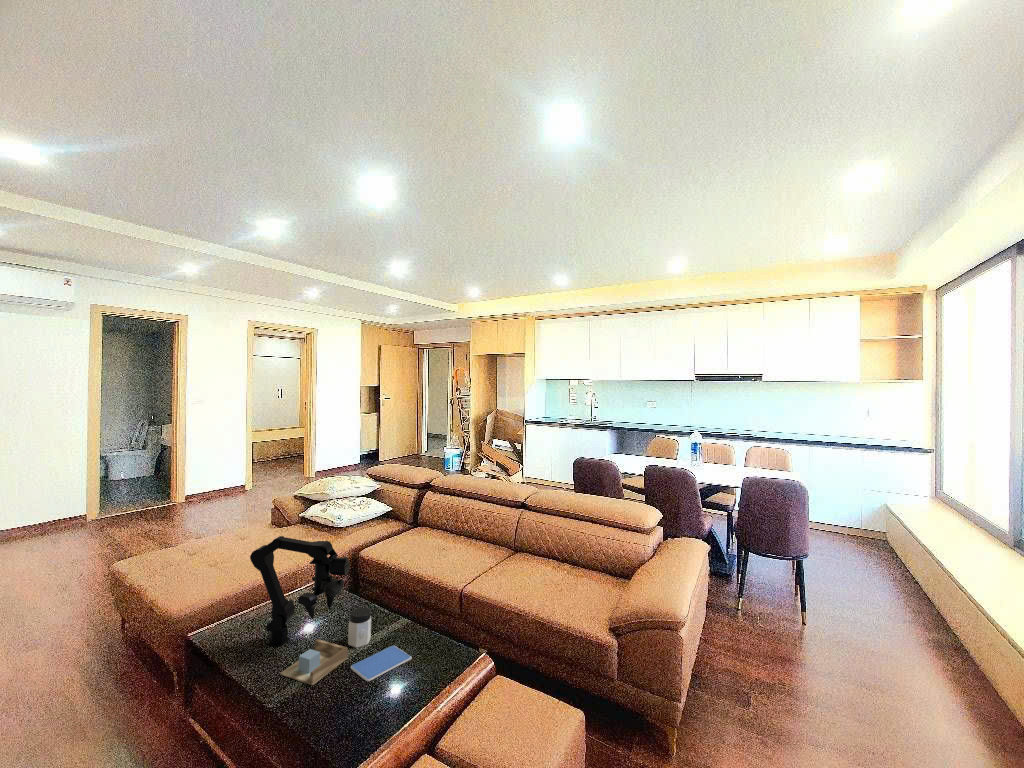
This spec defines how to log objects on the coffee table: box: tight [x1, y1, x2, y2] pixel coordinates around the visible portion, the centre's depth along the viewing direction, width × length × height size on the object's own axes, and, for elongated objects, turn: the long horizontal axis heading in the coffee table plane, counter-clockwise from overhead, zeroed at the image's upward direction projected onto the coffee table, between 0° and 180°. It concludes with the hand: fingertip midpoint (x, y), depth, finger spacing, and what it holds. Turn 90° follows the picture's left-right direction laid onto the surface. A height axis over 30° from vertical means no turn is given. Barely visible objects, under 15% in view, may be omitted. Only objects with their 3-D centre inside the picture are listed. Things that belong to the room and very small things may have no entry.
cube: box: [298, 648, 320, 673], centre depth 160 cm, size 5×5×5 cm
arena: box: [280, 638, 349, 686], centre depth 163 cm, size 15×17×4 cm
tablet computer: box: [350, 645, 413, 682], centre depth 165 cm, size 19×13×1 cm, turn 140°
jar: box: [347, 607, 372, 648], centre depth 179 cm, size 9×8×12 cm
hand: (320, 612), depth 178 cm, fingers open, 9 cm apart
